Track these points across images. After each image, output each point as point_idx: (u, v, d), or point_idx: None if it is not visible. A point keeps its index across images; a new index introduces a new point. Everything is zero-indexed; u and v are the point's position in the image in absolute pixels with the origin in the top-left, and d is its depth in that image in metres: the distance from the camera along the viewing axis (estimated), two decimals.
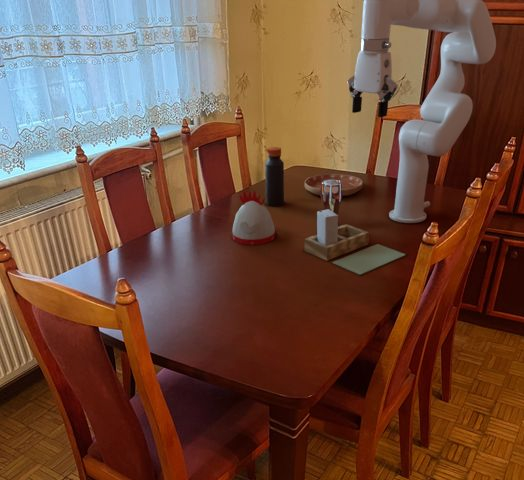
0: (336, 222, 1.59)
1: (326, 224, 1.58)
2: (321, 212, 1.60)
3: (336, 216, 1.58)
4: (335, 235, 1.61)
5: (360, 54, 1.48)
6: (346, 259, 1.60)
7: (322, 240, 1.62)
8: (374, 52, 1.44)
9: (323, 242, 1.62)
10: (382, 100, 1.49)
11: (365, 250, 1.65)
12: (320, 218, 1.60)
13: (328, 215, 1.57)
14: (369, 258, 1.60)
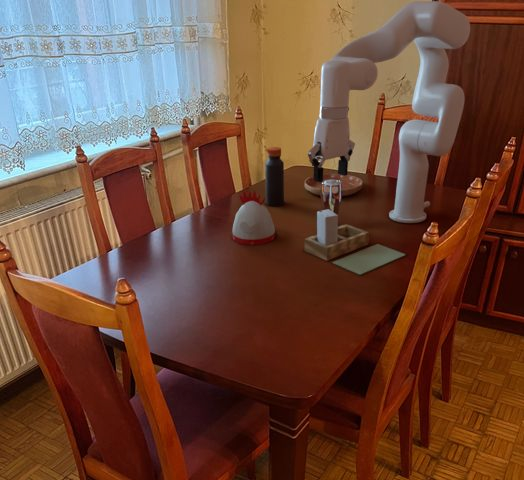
0: (336, 222, 1.59)
1: (326, 224, 1.58)
2: (321, 212, 1.60)
3: (336, 216, 1.58)
4: (335, 235, 1.61)
5: (331, 123, 1.42)
6: (346, 259, 1.60)
7: (322, 240, 1.62)
8: (347, 117, 1.45)
9: (323, 242, 1.62)
10: (348, 159, 1.53)
11: (365, 250, 1.65)
12: (320, 218, 1.60)
13: (328, 215, 1.57)
14: (369, 258, 1.60)
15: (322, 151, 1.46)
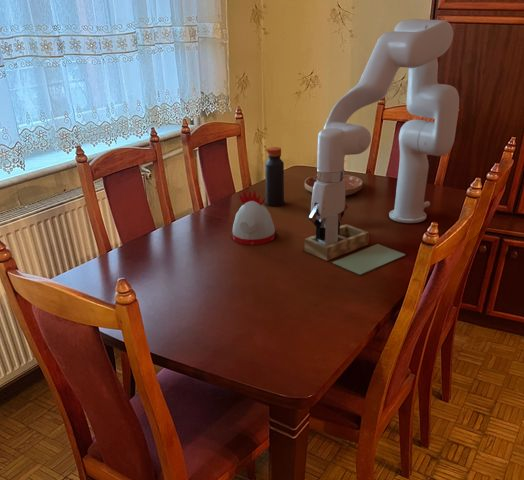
0: (336, 222, 1.59)
1: (327, 224, 1.58)
2: None
3: (336, 216, 1.58)
4: (335, 235, 1.61)
5: (328, 186, 1.51)
6: (346, 259, 1.60)
7: None
8: (343, 180, 1.53)
9: (323, 242, 1.62)
10: (340, 220, 1.62)
11: (365, 250, 1.65)
12: (320, 218, 1.60)
13: None
14: (369, 258, 1.60)
15: (319, 211, 1.55)
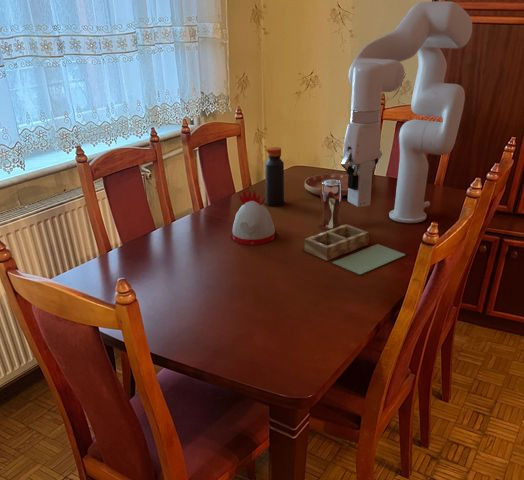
0: (371, 169, 1.46)
1: (361, 171, 1.45)
2: None
3: (371, 162, 1.45)
4: (369, 184, 1.48)
5: (363, 127, 1.39)
6: (346, 259, 1.60)
7: (354, 191, 1.50)
8: (379, 121, 1.41)
9: (356, 192, 1.49)
10: (373, 168, 1.49)
11: (365, 250, 1.65)
12: (353, 165, 1.48)
13: None
14: (369, 258, 1.60)
15: (353, 156, 1.42)
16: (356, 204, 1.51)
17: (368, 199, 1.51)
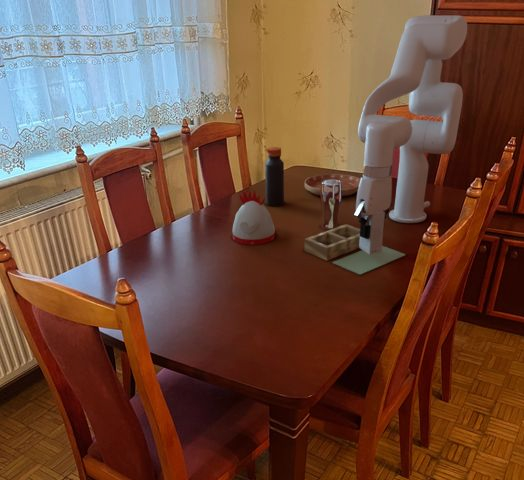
0: (382, 220, 1.52)
1: (373, 222, 1.51)
2: None
3: (383, 213, 1.51)
4: (380, 233, 1.54)
5: (375, 182, 1.44)
6: (346, 259, 1.60)
7: (366, 239, 1.55)
8: (390, 175, 1.46)
9: (368, 241, 1.55)
10: (384, 218, 1.55)
11: None
12: None
13: None
14: (369, 258, 1.60)
15: (365, 208, 1.48)
16: (368, 252, 1.56)
17: (379, 247, 1.56)
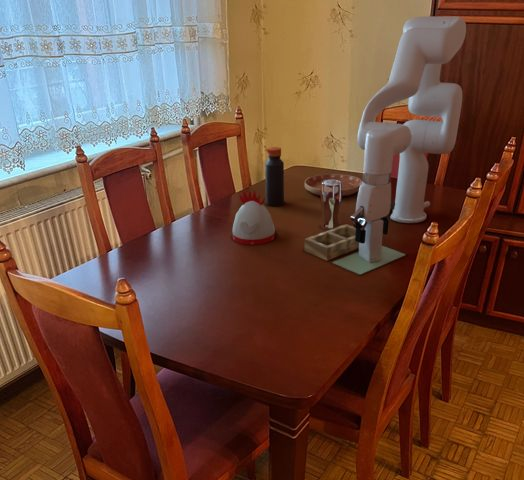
0: (381, 228, 1.53)
1: (372, 230, 1.52)
2: None
3: (381, 222, 1.52)
4: (380, 241, 1.55)
5: (375, 189, 1.45)
6: (346, 259, 1.60)
7: (366, 247, 1.57)
8: None
9: (367, 249, 1.56)
10: (388, 219, 1.56)
11: None
12: None
13: (373, 221, 1.52)
14: None
15: (365, 215, 1.49)
16: (367, 260, 1.58)
17: (378, 255, 1.57)
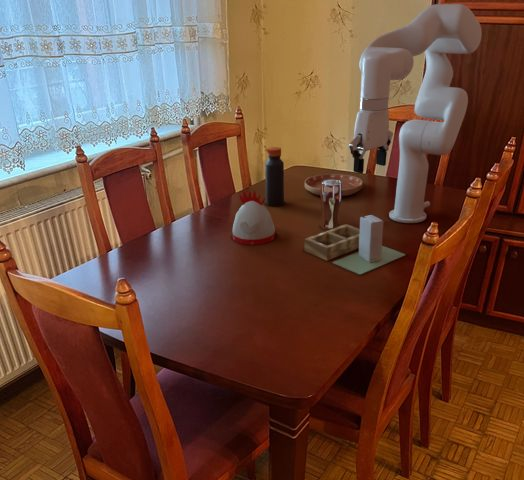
0: (381, 228, 1.53)
1: (372, 230, 1.52)
2: (365, 218, 1.54)
3: (381, 222, 1.52)
4: (380, 241, 1.55)
5: (373, 114, 1.44)
6: (346, 259, 1.60)
7: (366, 247, 1.57)
8: (387, 108, 1.46)
9: (367, 249, 1.56)
10: (386, 149, 1.55)
11: None
12: (364, 224, 1.54)
13: (373, 221, 1.52)
14: None
15: (363, 142, 1.47)
16: (367, 260, 1.58)
17: (378, 255, 1.57)
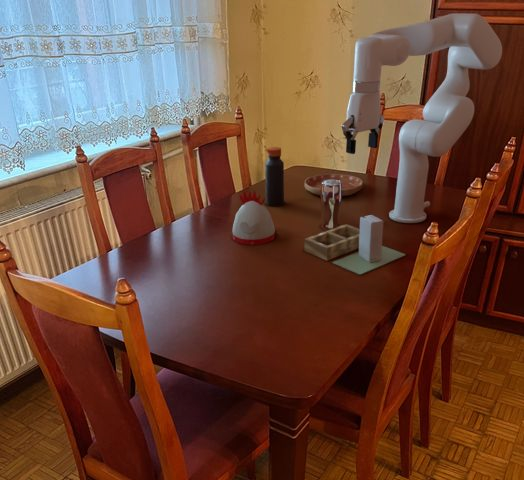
0: (381, 228, 1.53)
1: (372, 230, 1.52)
2: (365, 218, 1.54)
3: (381, 222, 1.52)
4: (380, 241, 1.55)
5: (364, 97, 1.51)
6: (346, 259, 1.60)
7: (366, 247, 1.57)
8: (379, 92, 1.53)
9: (367, 249, 1.56)
10: (378, 132, 1.62)
11: None
12: (364, 224, 1.54)
13: (373, 221, 1.52)
14: None
15: (355, 124, 1.55)
16: (367, 260, 1.58)
17: (378, 255, 1.57)
